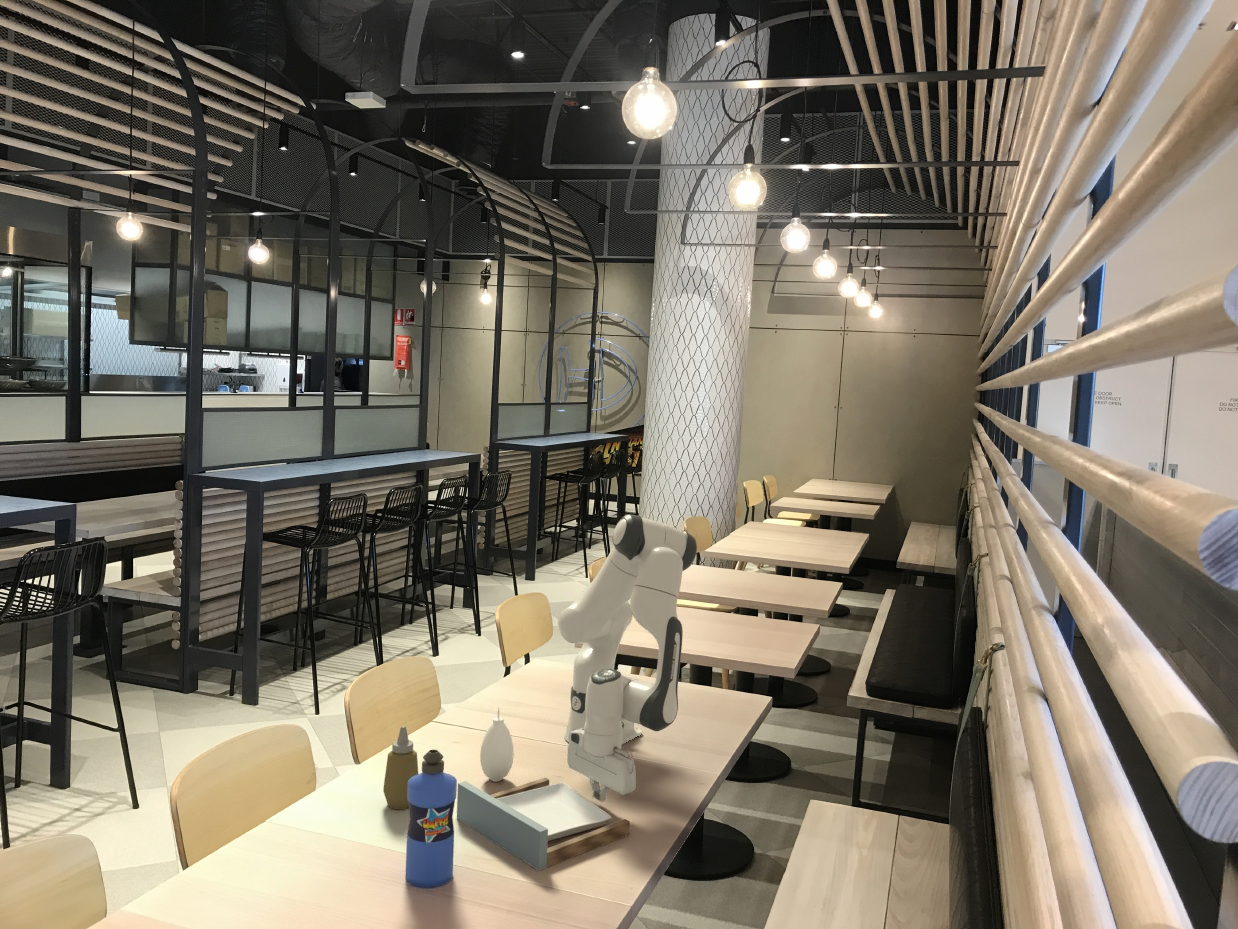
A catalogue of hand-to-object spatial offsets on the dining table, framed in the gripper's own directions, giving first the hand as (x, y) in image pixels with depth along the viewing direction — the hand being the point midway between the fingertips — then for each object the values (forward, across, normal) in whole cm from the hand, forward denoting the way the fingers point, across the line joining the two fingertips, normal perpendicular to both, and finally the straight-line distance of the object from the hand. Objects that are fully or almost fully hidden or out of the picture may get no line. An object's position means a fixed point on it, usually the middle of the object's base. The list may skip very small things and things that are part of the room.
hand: (599, 799), depth 220 cm
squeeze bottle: (+2, +28, +36) cm, 45 cm away
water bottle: (+2, -4, +48) cm, 48 cm away
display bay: (+2, 0, +17) cm, 17 cm away
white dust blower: (+2, +26, +11) cm, 28 cm away
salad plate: (+2, +1, +15) cm, 15 cm away
